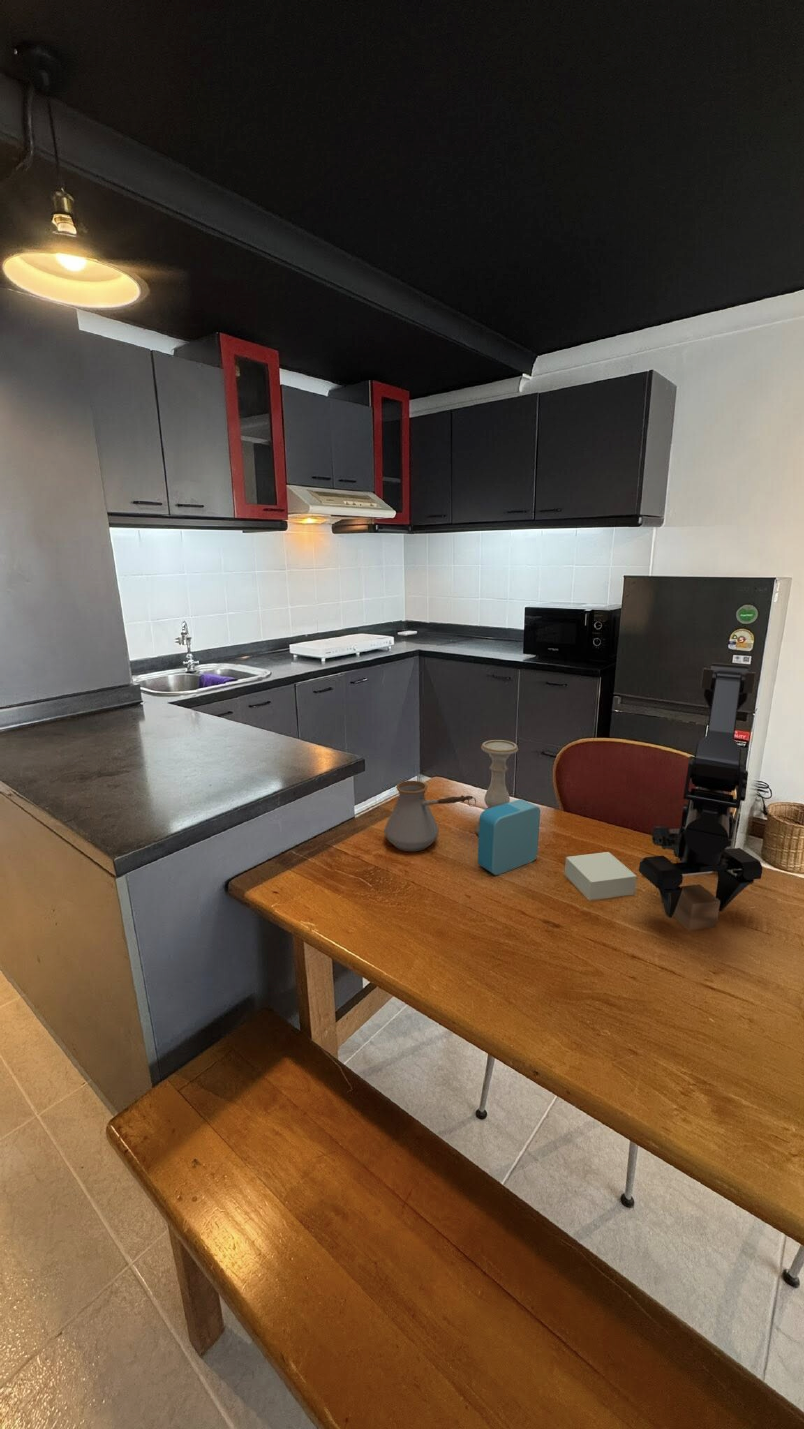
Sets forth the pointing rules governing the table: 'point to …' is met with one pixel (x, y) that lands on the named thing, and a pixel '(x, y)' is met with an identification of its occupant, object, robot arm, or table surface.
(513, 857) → the blue rounded slab
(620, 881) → the base block
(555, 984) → the table surface
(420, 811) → the coffee pot
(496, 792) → the candle holder
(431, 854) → the table surface
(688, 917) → the walnut cube
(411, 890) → the table surface
